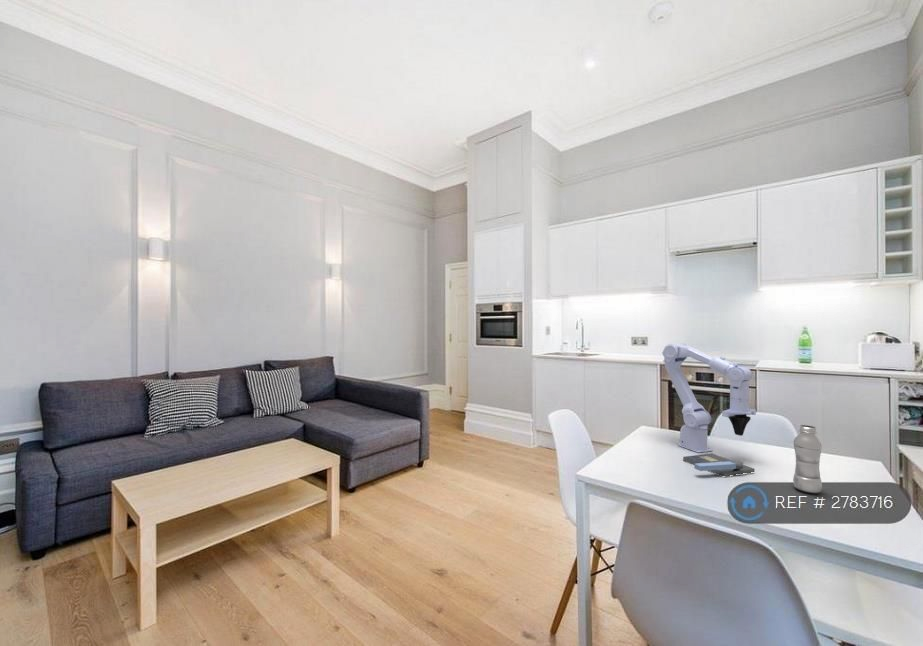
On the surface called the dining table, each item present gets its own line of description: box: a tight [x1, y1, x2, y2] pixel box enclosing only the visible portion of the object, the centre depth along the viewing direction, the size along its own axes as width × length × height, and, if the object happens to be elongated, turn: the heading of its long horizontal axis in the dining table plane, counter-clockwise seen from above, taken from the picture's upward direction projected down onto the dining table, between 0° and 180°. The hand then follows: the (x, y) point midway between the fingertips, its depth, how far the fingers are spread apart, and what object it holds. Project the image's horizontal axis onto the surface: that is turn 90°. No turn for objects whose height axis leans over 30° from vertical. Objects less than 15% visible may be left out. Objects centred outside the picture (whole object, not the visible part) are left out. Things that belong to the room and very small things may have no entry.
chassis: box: [682, 453, 755, 477], centre depth 137 cm, size 16×14×2 cm
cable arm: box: [694, 459, 744, 472], centre depth 129 cm, size 17×4×2 cm, turn 100°
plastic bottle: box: [792, 424, 823, 494], centre depth 117 cm, size 6×7×20 cm
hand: (738, 434), depth 142 cm, fingers closed
